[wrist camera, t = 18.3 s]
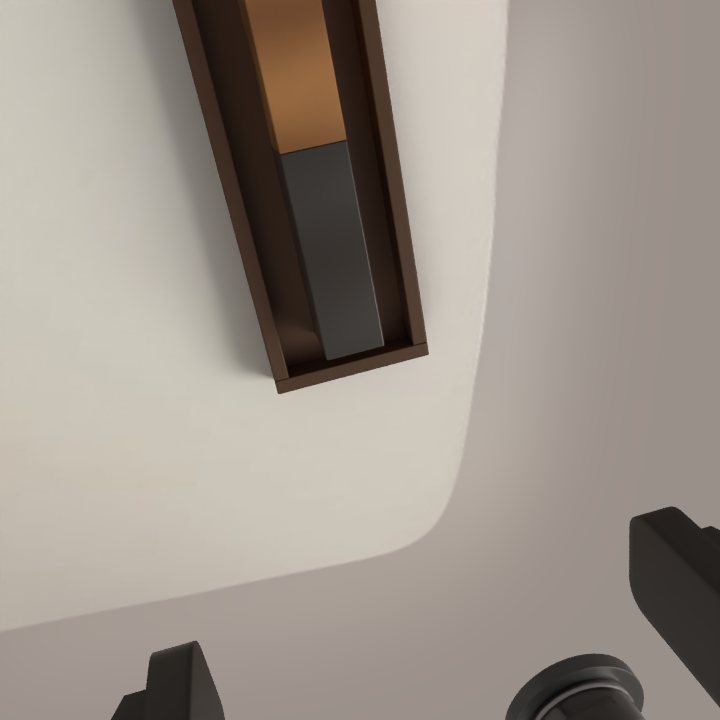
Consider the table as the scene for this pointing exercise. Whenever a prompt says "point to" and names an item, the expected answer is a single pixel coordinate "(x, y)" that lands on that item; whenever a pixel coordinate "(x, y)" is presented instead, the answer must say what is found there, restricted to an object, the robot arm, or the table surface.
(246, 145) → the tool tray
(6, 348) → the table surface
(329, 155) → the whetstone
